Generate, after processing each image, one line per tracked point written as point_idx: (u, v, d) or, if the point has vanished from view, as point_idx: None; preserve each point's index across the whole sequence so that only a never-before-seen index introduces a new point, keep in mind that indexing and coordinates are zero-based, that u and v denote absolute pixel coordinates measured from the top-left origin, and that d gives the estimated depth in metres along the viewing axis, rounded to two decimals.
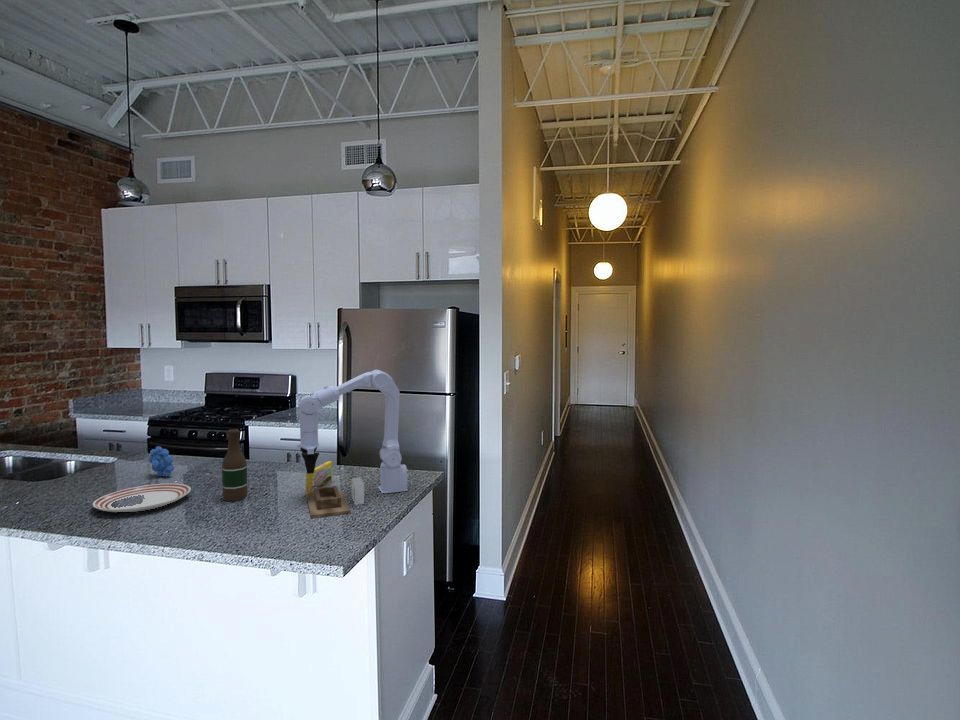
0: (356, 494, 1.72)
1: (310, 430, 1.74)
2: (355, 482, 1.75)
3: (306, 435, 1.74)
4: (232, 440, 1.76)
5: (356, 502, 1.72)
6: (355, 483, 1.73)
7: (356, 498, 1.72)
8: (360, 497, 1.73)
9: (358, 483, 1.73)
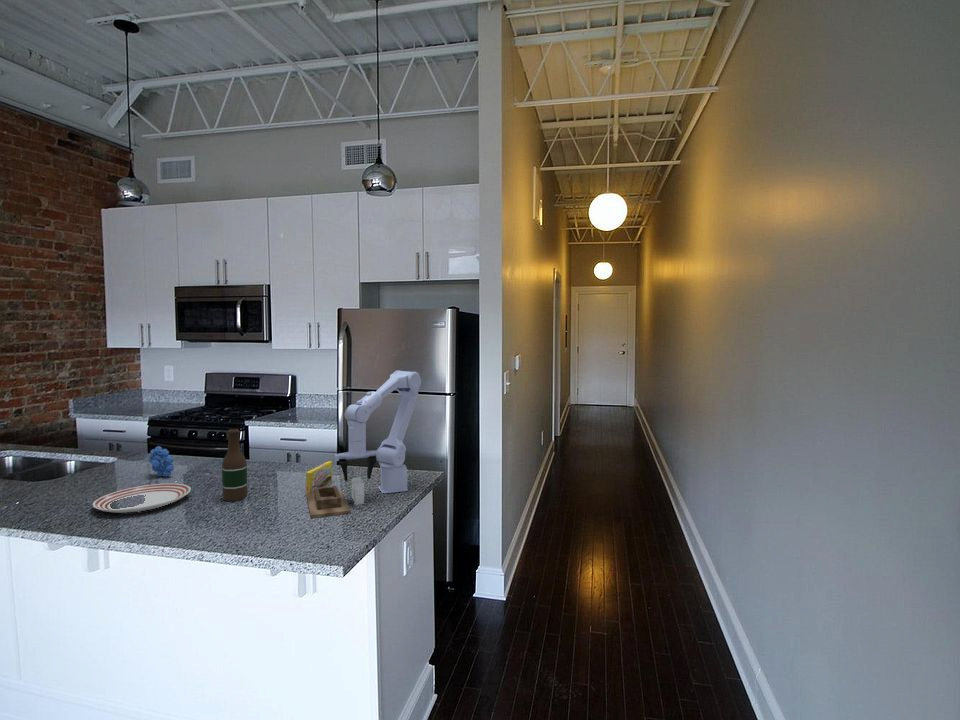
0: (356, 494, 1.72)
1: (363, 438, 1.73)
2: (355, 482, 1.74)
3: None
4: (232, 440, 1.76)
5: (356, 502, 1.72)
6: (355, 483, 1.73)
7: (356, 498, 1.72)
8: (360, 497, 1.73)
9: (358, 483, 1.73)
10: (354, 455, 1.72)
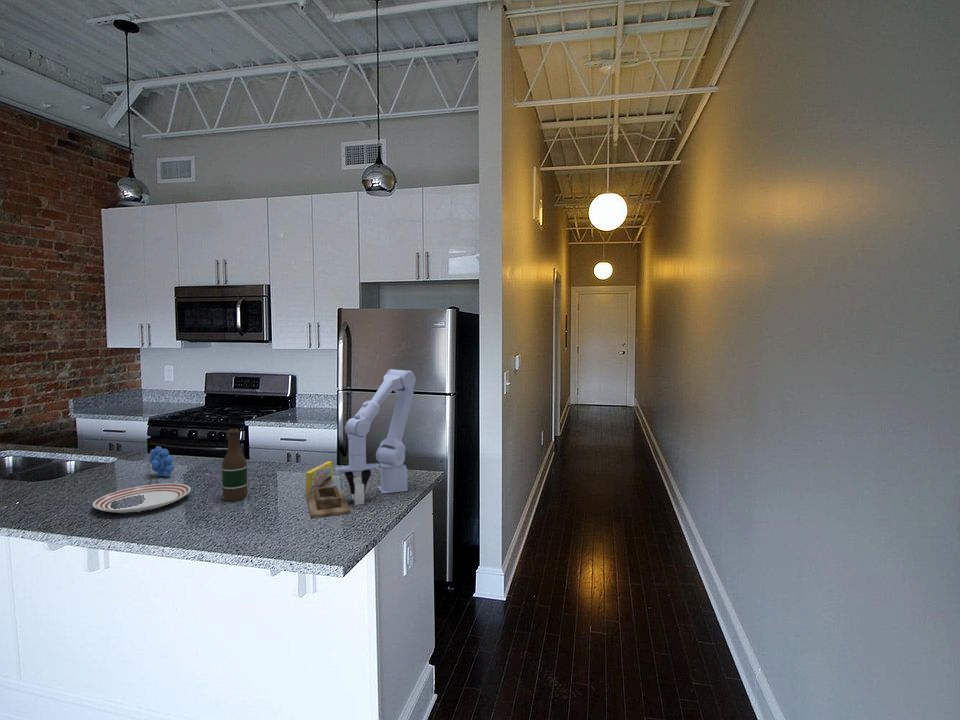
0: (356, 494, 1.72)
1: (363, 452, 1.74)
2: (355, 482, 1.74)
3: None
4: (232, 440, 1.76)
5: (356, 502, 1.72)
6: (355, 483, 1.73)
7: (356, 498, 1.72)
8: (360, 497, 1.73)
9: (358, 483, 1.73)
10: (354, 469, 1.73)
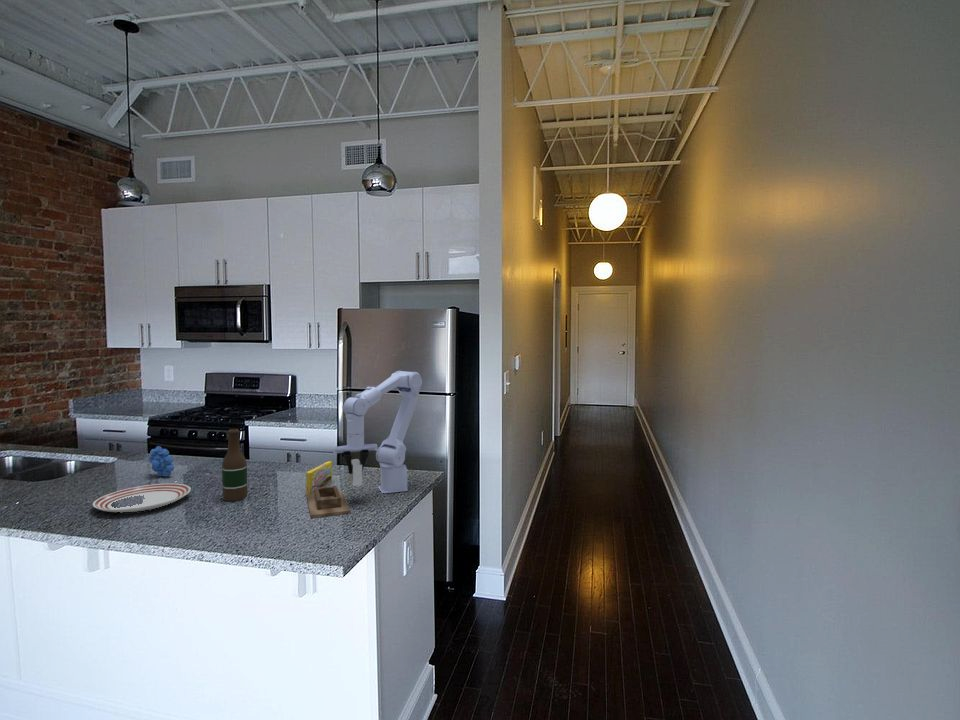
0: (354, 475, 1.71)
1: (361, 431, 1.73)
2: (353, 463, 1.74)
3: None
4: (232, 440, 1.76)
5: (354, 483, 1.71)
6: (353, 464, 1.73)
7: (354, 479, 1.71)
8: (358, 478, 1.72)
9: (356, 464, 1.73)
10: (352, 448, 1.72)
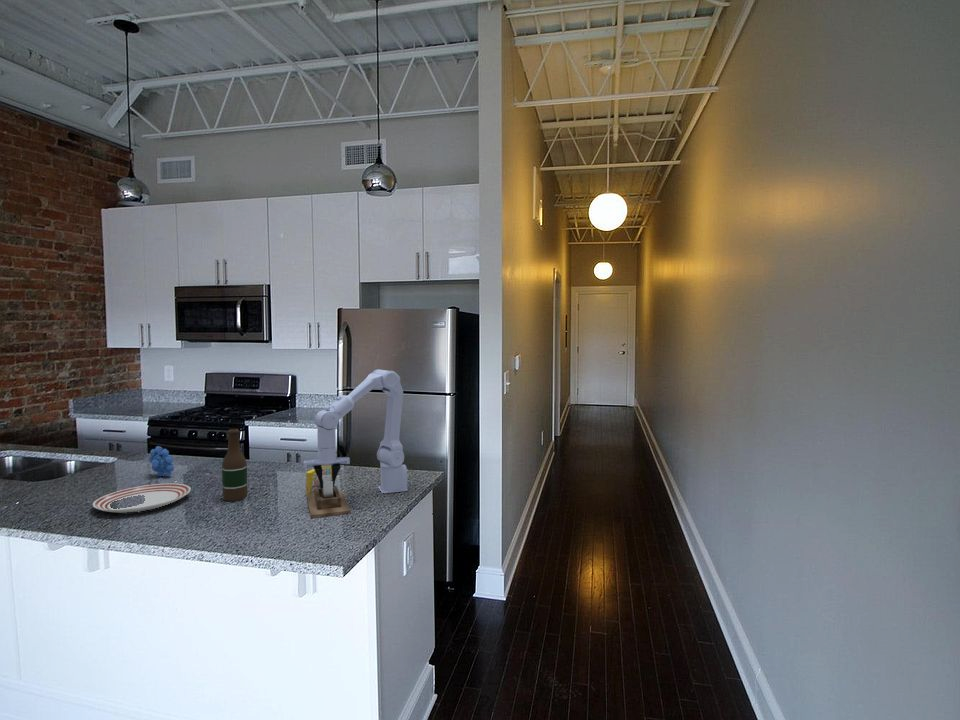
0: (325, 491, 1.68)
1: (331, 445, 1.69)
2: (324, 479, 1.71)
3: None
4: (232, 440, 1.76)
5: None
6: (324, 480, 1.70)
7: (325, 495, 1.68)
8: (329, 494, 1.69)
9: (327, 480, 1.70)
10: (323, 462, 1.69)
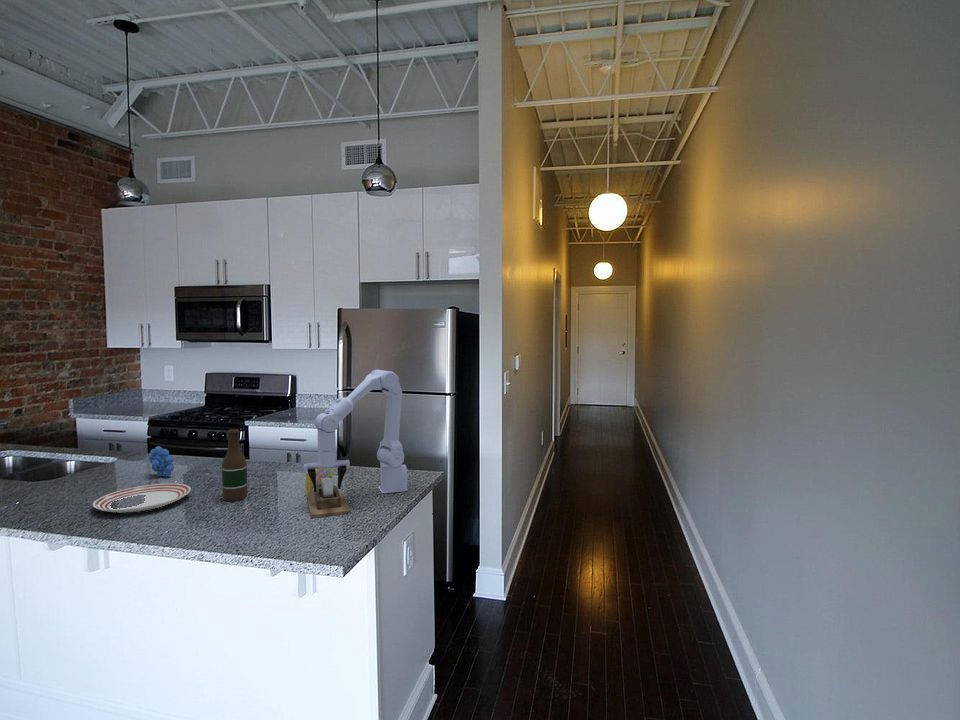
0: (325, 494, 1.68)
1: (331, 448, 1.69)
2: (324, 482, 1.71)
3: None
4: (232, 440, 1.76)
5: None
6: (324, 483, 1.70)
7: None
8: (329, 497, 1.69)
9: (327, 483, 1.70)
10: (323, 465, 1.69)
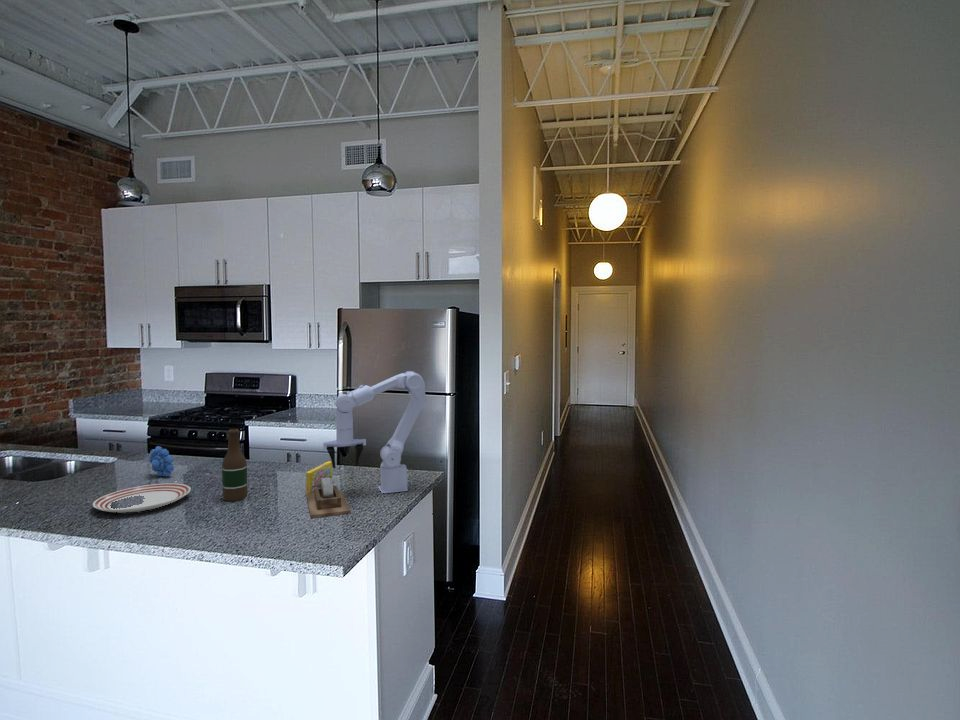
0: (325, 494, 1.68)
1: (345, 428, 1.79)
2: (324, 482, 1.71)
3: None
4: (232, 440, 1.76)
5: None
6: (324, 483, 1.70)
7: None
8: (329, 497, 1.69)
9: (327, 483, 1.70)
10: (341, 443, 1.79)
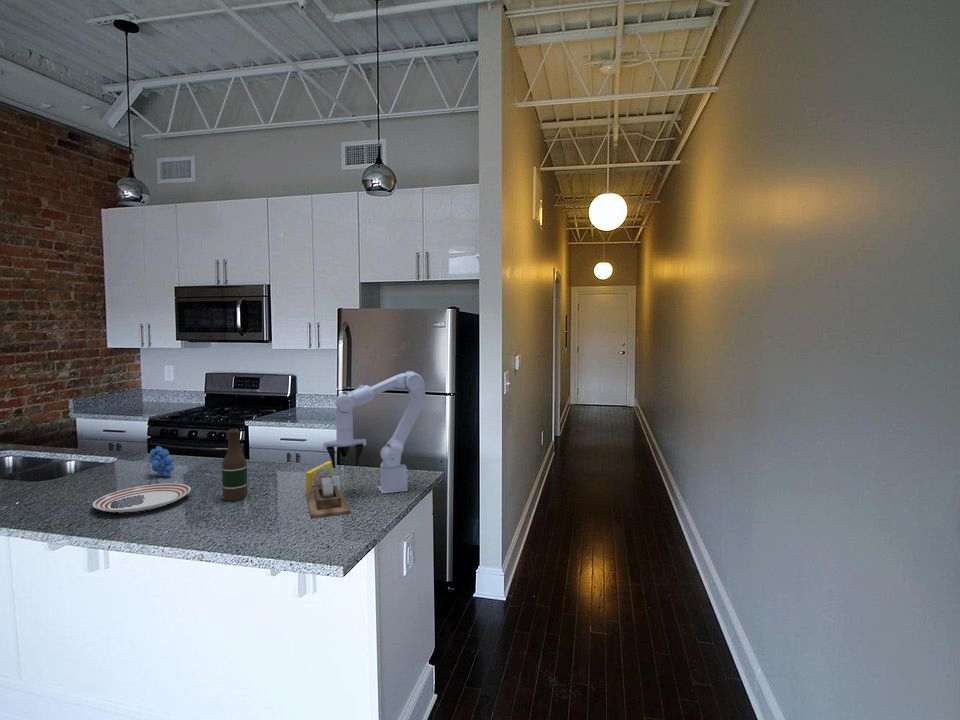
0: (325, 494, 1.68)
1: (345, 428, 1.79)
2: (324, 482, 1.71)
3: None
4: (232, 440, 1.76)
5: None
6: (324, 483, 1.70)
7: None
8: (329, 497, 1.69)
9: (327, 483, 1.70)
10: (341, 443, 1.79)
